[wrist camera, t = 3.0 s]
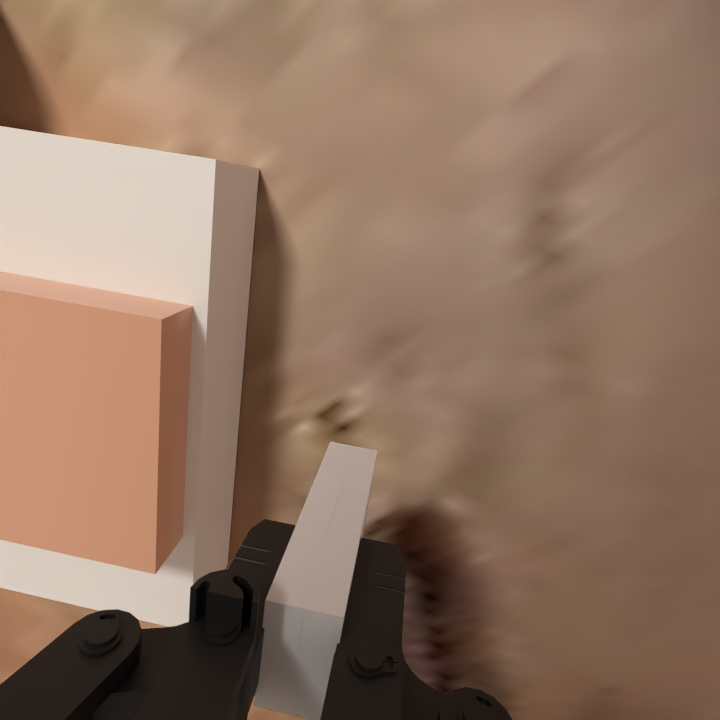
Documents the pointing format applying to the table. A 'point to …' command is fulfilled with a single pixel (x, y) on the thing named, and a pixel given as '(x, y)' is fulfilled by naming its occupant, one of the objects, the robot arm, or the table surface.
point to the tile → (93, 421)
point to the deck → (151, 280)
